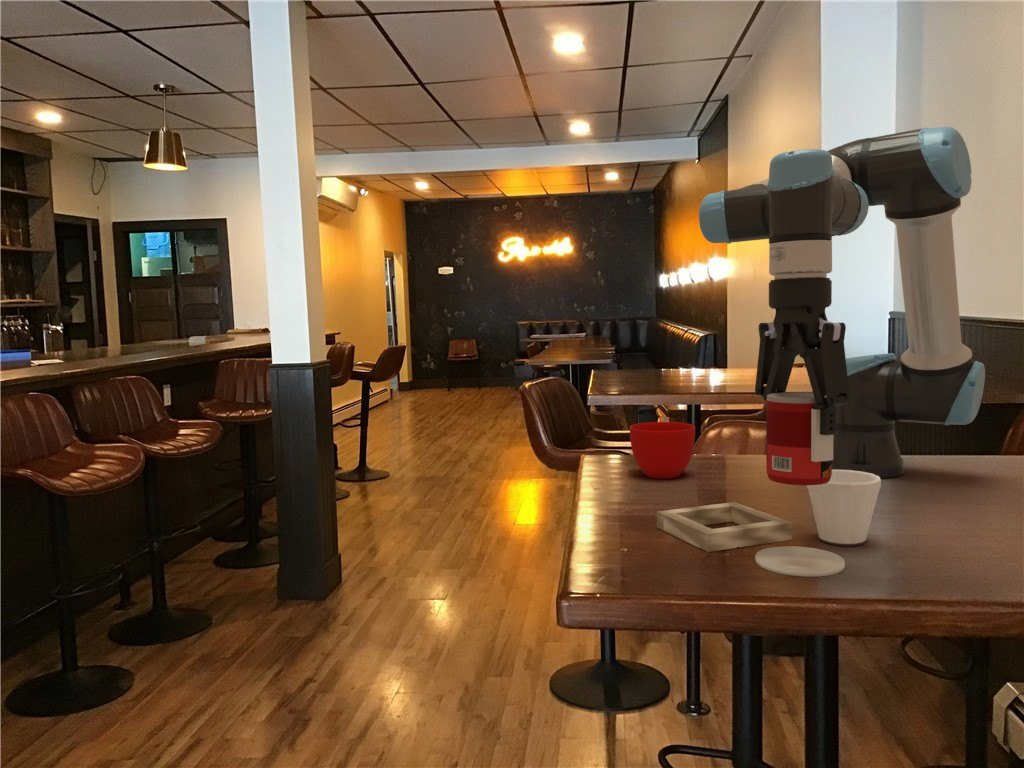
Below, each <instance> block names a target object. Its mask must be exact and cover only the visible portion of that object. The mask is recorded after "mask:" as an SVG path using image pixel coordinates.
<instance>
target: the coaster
mask: <svg viewBox="0 0 1024 768" xmlns="http://www.w3.org/2000/svg"><path fill="white" fill-rule="evenodd" d="M754 558H755V564H756V565H757V566H759V567H760V568H762V569H764V570H766V571H769V572H773V573H775V574H779V575H780V574H781V575H785V576H793V577H807V578H809V577H810V578H811V577H812V578H814V577H815V578H817V577H820V578H821V577H828V576H834V575H837V574H840V573H842V572H843V571H844V570H845V568H846V566H845V565H846V561H845V559H844V558H843V557H841V556H840V555H838V554H837V553H834V552H832V551H827V550H825V549H820V548H814V547H806V546H798V545H797V546H796V545H795V546H794V545H792V546H790V545H788V546H787V545H786V546H785V545H783V546H773V547H767V548H763V549H761V550H758V551H757V552H756V553H755V556H754Z"/></svg>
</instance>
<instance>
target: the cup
mask: <svg viewBox="0 0 1024 768" xmlns="http://www.w3.org/2000/svg"><path fill="white" fill-rule="evenodd" d="M806 487H807V490H808V494H809V499H810V503H811V507H812V511H813V515H814V520H815V524H816V529H817V533H818V538H819V540H820V541H821V542H824V543H826V544H829V545H834V546H843V547H849V546H850V547H852V546H853V547H855V546H860V545H863V544H864V543H866V541H867V538H868V534H869V530H870V526H871V523H872V519H873V515H874V511H875V508H876V504H877V501H878V496H879V492H880V490H881V487H882V478H880V477H879V476H877V475H874V474H871V473H867V472H862V471H853V470H832V475H831V478H830V481H829V482H828V483H825V484H820V485H806Z"/></svg>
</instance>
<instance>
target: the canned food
mask: <svg viewBox="0 0 1024 768" xmlns="http://www.w3.org/2000/svg"><path fill="white" fill-rule="evenodd" d="M825 398H826V395H825ZM815 404H816V402H815V398H814V394H813V392H807V391H805V392H804V391H800V392H799V391H794V392H793V391H791V392H786V391H785V392H784V393H772V394H769V395H767V399H766V401H765V406H766V407H765V422H766V423H765V430H766V431H765V432H766V435H765V438H766V439H765V440H766V441H765V443H766V452H765V453H766V454H765V455H766V457H765V459H766V461H765V462H766V475H767V478H768V480H770V481H771V482H774V483H778V484H783V485H792V486H807V485H820V484H825V483H828V482H829V481H830V478H831V475H832V460H829V461H819V462H814V461H811V409H813V408H812V406H813V405H815Z"/></svg>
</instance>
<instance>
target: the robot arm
mask: <svg viewBox="0 0 1024 768" xmlns="http://www.w3.org/2000/svg"><path fill="white" fill-rule="evenodd" d="M970 158H971V157H970V154H969V150H968V147H967V144H966V142H965V140H964V137H963V135H962V134H961V132H959V130H957V129H956V128H954V127H951V126H940V127H923V128H918V129H912V130H908V131H907V130H906V131H902V132H896V133H890V134H885V135H879V136H874V137H866V138H861V139H857V140H853V141H850V142H846V143H844V144H841V145H840V146H837V147H834V148H831V149H829V150H824V149H819V148H817V149H816V148H810V149H809V148H807V149H795V150H789V151H785V152H781V153H779V154H777V155H775V156H774V157H772V158H771V160H770V163H769V171H768V172H769V173H768V178H765V179H763V180H761V181H757V182H755V183H752V184H751V185H750V184H749V185H746V186H743V187H740V188H736V189H730V190H725V189H723V190H721V191H718V192H711V193H709V194H706V195H705V197H704V198H703V199H702V201H701V203H700V206H699V210H698V221H699V223H698V224H699V229H700V232H701V234H702V236H703V237H704V239H705V240H706V241H708V242H710V243H711V244H727V245H730V244H732V243H739V242H750V241H761V240H768V244H769V247H768V248H769V249H768V251H769V253H768V254H769V256H768V257H769V258H768V259H769V261H768V262H769V264H768V266H769V267H768V274H769V275H770V276H774V279H771V280H770V282H768V306H769V308H771V309H774V310H775V313H774V318H773V321H771V322H760V323H759V324H758V333H759V334H758V335H759V345H758V346H759V347H758V359H757V366H756V375H755V377H756V378H755V384H754V385H755V386H754V387H755V388H754V392H755V395H757V396H761V397H762V398H763V400H764V402H766V399H767V395H769V394H772V393H784V392H786V391H787V388H788V384H789V380H790V378H791V374H792V370H793V367H794V364H795V360H796V357H797V356H799V358H801V359H803V361H804V366H805V368H806V371H807V372H806V373H807V376H808V379H809V383H810V387H811V390H812V393H813V394H814V398H815V402H816V404H815V405H813V406H812V408H813V409H811V461H814V462H819V461H829V460H832V470H853V471H862V472H867V473H871V474H874V475H877V476H879V477H880V479H887V478H895V477H899V476H903V475H904V474H905V461H904V459H903V458H902V457H901V451H900V448H899V444H898V441H897V437H896V434H895V431H896V430H895V426H896V424H895V423H896V422H902V423H903V422H906V423H920V424H932V425H933V424H935V425H944V426H949V425H958V426H959V425H961V426H962V425H963V426H964V425H965V426H966V425H968V424H971V423H972V422H973V421H974V420H975V418H976V416H977V415H978V412H979V410H980V406H981V402H982V399H983V393H984V389H985V388H984V387H985V380H986V369H985V364H984V363H983V362H980V361H978V360H975V361H973V351H972V349H971V348H969V347H968V346H966V344H963V342H962V332H961V331H962V330H961V321H960V308H959V295H958V294H959V293H958V282H957V281H958V280H957V271H956V269H957V267H956V256H955V246H954V245H955V243H954V231H953V230H954V229H953V215H954V214H955V213H956V212H957V210H959V208H960V207H962V206H961V205H962V202H961V200H962V199H961V198H964V197H965V196H967V195H968V194H969V193H970V190H971V189H972V176H971V175H972V165H971V159H970ZM875 206H883V208H884V215H885V219H886V220H888V221H890V222H892V223H893V224H894V225H895V228H896V237H897V247H898V256H899V267H900V276H901V277H900V278H901V284H902V285H901V286H902V295H903V303H904V305H903V306H904V315H905V322H906V323H905V324H906V333H907V335H906V336H907V343H908V348H907V349H906V350H905V351H904V352H903V353H902V354H901V356H900V360H897V356H896V354H895V353H893V352H891V353H890V352H889V353H881V354H880V353H879V354H870V355H862V356H853V357H846V349H845V337H846V336H845V335H846V330H847V329H846V328H847V327H846V326H847V325H846V323H844V322H832V321H829V320H828V318H827V315H826V308H829V307H830V306H832V301H833V300H832V299H833V298H832V295H833V294H832V293H833V292H832V291H833V290H832V288H833V285H832V282H833V281H832V280H831V278H830V277H828V276H827V275H828V274H830V273H832V271H833V241H832V240H833V237H836V236H839V237H841V236H845V235H849V234H851V233H853V232H855V231H856V230H858V229H859V228H860V227H861V226H862V225H863V223H864V222H865V221H866V219H867V216H868V213H869V207H875ZM825 395H826V398H825Z"/></svg>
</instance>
